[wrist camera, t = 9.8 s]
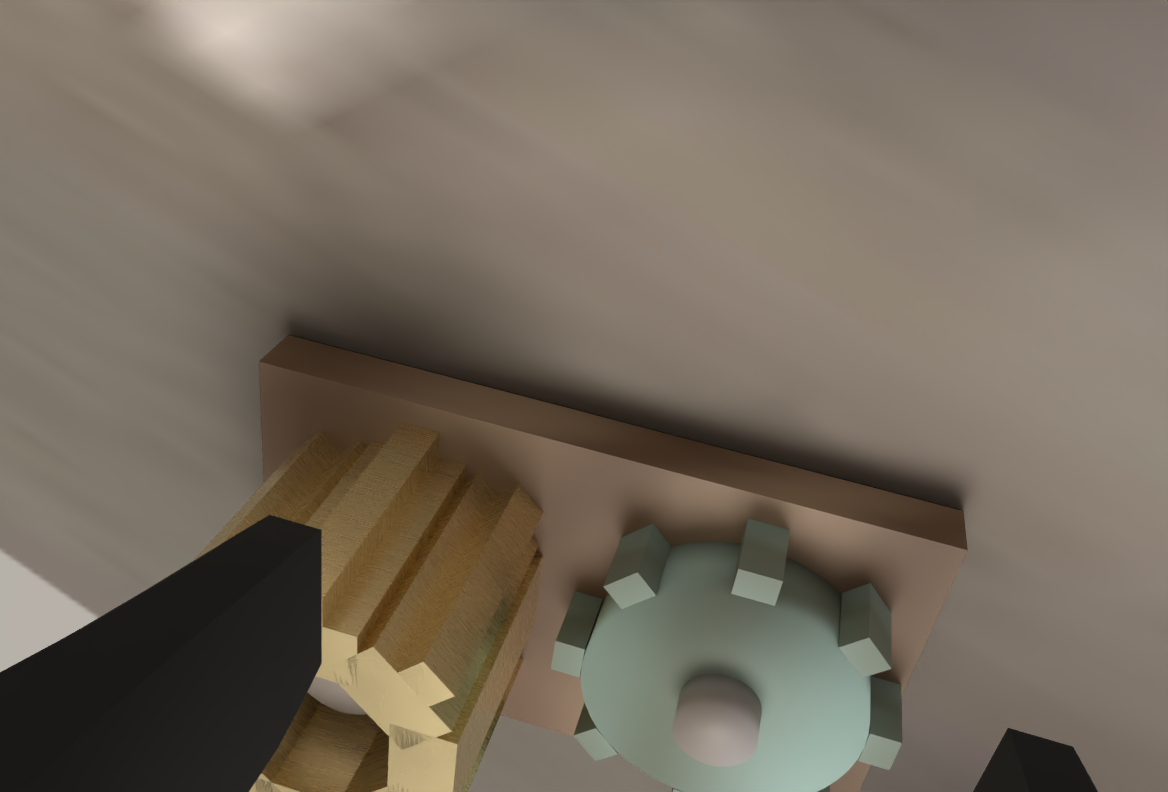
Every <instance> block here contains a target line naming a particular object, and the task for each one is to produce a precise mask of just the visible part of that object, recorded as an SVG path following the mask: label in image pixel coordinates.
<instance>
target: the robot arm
mask: <svg viewBox="0 0 1168 792" xmlns="http://www.w3.org/2000/svg"><path fill="white" fill-rule="evenodd" d="M321 664H322V530H321V529H317V528H314V527H310V526H307V525H303V524H300V523H297V522H293V521H290V520H286V519H283V518H279V517H276V516H272V515H268V516H267V517H265V518H263V519H262V520H260V521H258V522H256V523H255V524H253V525H251V526H250V527H248V528H246V529H245V530H243V531H241V532H240V533H238V534H236V535H235V536H233V537H231V538H230V539H228V540H227V541H225V542H223V543H222V544H220V545H218V546H217V547H215V548H214V549H212V550H210V551H209V552H207V553H206V554H204V555H202V556H201V557H199V558H197V559H196V560H194V561H193V562H191V563H189V564H188V565H186V566H185V567H183V568H181V569H180V570H178V571H176V572H175V573H173V574H171V575H170V576H168V577H167V578H165V579H163V580H162V581H160V582H158V583H157V584H155V585H154V586H152V587H150V588H149V589H147V590H145V591H144V592H142V593H140V594H139V595H137V596H135V597H133V598H132V599H130V600H128V601H127V602H125V603H123V604H122V605H120V606H118V607H116V608H115V609H113V610H111V611H110V612H108V613H106V614H105V615H103V616H101V617H100V618H98V619H96V620H94V621H93V622H91V623H89V624H88V625H86V626H84V627H83V628H81V629H79V630H77V631H76V632H74V633H72V634H70V635H69V636H67V637H65V638H63V639H61V640H60V641H58V642H56V643H54V644H52V645H50V646H48V647H47V648H45V649H43V650H41V651H39V652H37V653H35V654H34V655H32V656H30V657H28V658H26V659H24V660H22V661H21V662H19V663H17V664H15V665H13V666H11V667H9V668H8V669H6V670H4V671H2V672H0V792H249V791H250V789H251V788H252V786H253V785H254V783H255V782H256V780H257V779H258V777H259V776H260V774H261V773H262V771H263V770H264V768H265V767H266V765H267V764H268V762H269V761H270V759H271V758H272V756H273V755H274V753H275V752H276V750H277V749H278V747H279V745H280V743H281V741H282V740H283V738H284V736H285V734H286V732H287V730H288V728H289V726H290V725H291V723H292V721H293V719H294V717H295V715H296V713H297V711H298V710H299V708H300V706H301V704H302V702H303V700H304V698H305V696H306V694H307V692H308V690H309V688H310V686H311V684H312V682H313V680H314V678H315V676H316V674H317V672H318V670H319V668H320V666H321ZM973 792H1098V791H1097V789H1096V787H1095V786H1094V784H1093V782H1092V780H1091V778H1090V776H1089V775H1088V773H1087V771H1086V769H1085V767H1084V766H1083V764H1082V762H1081V760H1080V758H1079V757H1078V755H1077V753H1076V751H1075V750H1074V748H1073V747H1072V746H1069V745H1065V744H1062V743H1058V742H1055V741H1051V740H1048V739H1044V738H1041V737H1037V736H1034V735H1031V734H1027V733H1024V732H1020V731H1017V730H1013V729H1010V728H1008V729H1007V731H1006V733H1005V734H1004V736H1003V738H1002V740H1001V742H1000V744H999V745H998V747H997V749H996V751H995V753H994V755H993V756H992V758H991V760H990V762H989V764H988V766H987V767H986V769H985V771H984V773H983V775H982V777H981V778H980V780H979V782H978V784H977V786H976V788H975V789H974V791H973Z"/></svg>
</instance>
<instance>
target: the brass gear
mask: <svg viewBox="0 0 1168 792" xmlns="http://www.w3.org/2000/svg"><path fill="white" fill-rule="evenodd" d="M439 436H440V432H437V431H433V430H429V429H425V428H421V427H417V426H414V425H410V424H406V423H401V424H400V426H399V427H398V428H397V429H396V431H395V432H394V433H393V435H392V436H391V437H390V438H389V440H388V441H387V442H386V443H384V442H380V441H376V440H373V441H372V442H371V443H370V444H369V446H368V447H367V448H366V446H365V445H364V444H363V443H362V442H361V441H360V442H358V443H356V444H355V445H353V446H351V447H350V448H348V449H346V450H345V451H343V452H342V453H341V452H340V450H339V449H338V448H337V447H336V446H335V445H334V444H333V442H332V441H331V440H330V439H329V438H328V437H327V436H326V435H325V433H324V432H323V431H321V432H319V433H318V434H316V435H315V436H313V437H312V438H310V439H308V440H307V441H305V442H304V443H302V444H300V445H299V446H297V447H296V449H295V450H294V451H293V452H292V453H291V454H290V455H289V456H288V457H287V458H286V460H285V461H284V462H283V463H282V464H281V465H280V466H279V467H278V468H277V469H276V471H275V472H274V473H273V474H272V475H271V476H270V477H269V478H268V479H267V480H266V482H265V483H264V484H263V485H262V486H261V487H260V488H259V489H258V490H257V491H256V493H255V494H254V495H253V496H252V497H251V498H250V499H249V500H248V501H247V502H246V504H245V505H244V506H243V507H242V508H241V509H240V510H239V511H238V512H237V513H236V515H235V516H234V517H233V518H232V519H231V520H230V521H229V522H228V523H227V525H226V526H225V527H224V528H223V529H222V530H221V531H220V532H219V533H218V534H217V536H216V537H215V538H214V539H213V540H212V541H211V542H210V543H209V544H208V545H207V547H206V548H205V549H204V550H203V551H202V552H201V553H200V554H199V555H198V556H197V558H199V557H201V556H202V555H204V554H206V553H207V552H209V551H210V550H212V549H214V548H215V547H217V546H218V545H220V544H222V543H223V542H225V541H227V540H228V539H230V538H231V537H233V536H235V535H236V534H238V533H240V532H241V531H243V530H245V529H246V528H248V527H250V526H251V525H253V524H255V523H256V522H258V521H260V520H262V519H263V518H265V517H267V516H268V515H272V516H276V517H279V518H283V519H286V520H290V521H293V522H297V523H300V524H303V525H307V526H310V527H314V528H317V529H321V530H322V664H321V666H320V668H319V670H318V672H317V674H316V677H319V678H322V679H326V680H329V681H332V682H335V683H338V684H339V685H340V686H341V687H342V688H343V689H344V690H345V691H346V692H347V693H348V694H349V695H350V696H351V697H352V699H353V700H354V701H355V702H356V703H357V704H358V705H359V706H360V707H361V708H362V709H363V710H364V711H365V712H366V713H367V714H363V715H356V714H348V713H344V712H340V711H337V710H334V709H332V708H330V707H328V706H326V705H324V704H322V703H321V702H319V701H318V700H316V699H315V698H314V697H312V696H311V695H310V694H309V693H308V692H307V694H306V696H305V698H304V700H303V702H302V704H301V706H300V708H299V710H298V711H297V713H296V715H295V717H294V719H293V721H292V723H291V725H290V726H289V728H288V730H287V732H286V734H285V736H284V738H283V740H282V741H281V743H280V745H279V747H278V749H277V750H276V752H275V753H274V755H273V756H272V758H271V759H270V761H269V762H268V764H267V765H266V767H265V768H264V770H263V771H262V773H261V774H260V776H259V777H258V779H257V780H256V782H255V783H254V785H253V786H252V788H251V789H250V791H249V792H468V790H469V788H470V785H471V783H472V781H473V778H474V776H475V773H476V771H477V769H478V766H479V764H480V762H481V759H482V757H483V754H484V752H485V750H486V747H487V745H488V743H489V740H490V738H491V735H492V733H493V731H494V728H495V726H496V724H497V721H498V719H499V717H500V714H501V712H502V709H503V707H504V705H505V702H506V700H507V698H508V695H509V693H510V690H511V688H512V686H513V683H514V681H515V679H516V676H517V674H518V671H519V669H520V667H521V664H522V662H523V659H522V658H521V657H520V655H521V653H522V650H523V648H524V646H525V643H526V641H527V639H528V636H529V634H530V632H531V629H532V627H533V623H534V616H535V609H536V602H537V595H538V588H539V581H540V573H541V566H542V559H543V556H542V555H538V554H535V552H536V550H537V548H538V546H539V544H538V542H537V541H536V540H535V539H534V538H533V536H532V535H533V533H534V531H535V529H536V527H537V525H538V523H539V521H540V518H541V516H542V514H543V511H542V510H541V509H540V507H539V506H538V505H537V504H536V502H535V501H534V500H533V499H532V498H531V496H530V495H529V494H528V493H527V492H526V490H525V489H524V488H523V487H522V485H521V484H520V483H518V484H516V485H514V486H512V487H510V488H508V489H506V490H504V491H503V492H501V493H499V494H497V493H496V492H495V491H494V490H493V488H492V487H491V486H490V485H489V484H488V482H487V481H486V480H485V479H484V478H483V476H482V475H481V474H480V473H479V472H478V473H476V474H475V475H473V476H471V477H469V478H467V479H465V476H466V464H464V463H460V462H456V461H452V460H449V459H445V458H441V457H438V452H439ZM197 558H196V559H197ZM196 559H195V560H196Z"/></svg>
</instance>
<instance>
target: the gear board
mask: <svg viewBox="0 0 1168 792" xmlns="http://www.w3.org/2000/svg"><path fill="white" fill-rule="evenodd" d="M259 374H260V400H261V426H262V452H263V478H264V483H265V482H266V480H267V479H268V478H269V477H270V476H271V475H272V474H273V473H274V472H275V471H276V469H277V468H278V467H279V466H280V465H281V464H282V463H283V462H284V461H285V460H286V458H287V457H288V456H289V455H290V454H291V453H292V452H293V451H294V450H295V449H296V447H297V446H299V445H300V444H302V443H304V442H305V441H307V440H308V439H310V438H312V437H313V436H315V435H316V434H318V433H319V432H321V431H323V432H324V433H325V435H326V436H327V437H328V438H329V439H330V440H331V441H332V442H333V444H334V445H335V446H336V447H337V448H338V449H339V450H340V452H341V453H342V452H343V451H345V450H346V449H348V448H350V447H351V446H353V445H355V444H356V443H358V442H360V441H361V442H362V443H363V444H364V445H365V446H366V448H367V447H368V446H369V444H370V443H371V442H372V441H373V440H376V441H380V442H384V443H386V442H387V441H388V440H389V438H390V437H391V436H392V435H393V433H394V432H395V431H396V429H397V428H398V427H399V426H400V424H401V423H406V424H410V425H414V426H417V427H421V428H425V429H429V430H433V431H437V432H440V436H439V452H438V457H441V458H445V459H449V460H452V461H456V462H460V463H464V464H466V476H465V479H467V478H469V477H471V476H473V475H475V474H476V473H478V472H479V473H480V474H481V475H482V476H483V478H484V479H485V480H486V481H487V482H488V484H489V485H490V486H491V487H492V488H493V490H494V491H495V492H496V493H497V494H499V493H501V492H503V491H504V490H506V489H508V488H510V487H512V486H514V485H516V484H518V483H520V484H521V485H522V487H523V488H524V489H525V490H526V492H527V493H528V494H529V495H530V496H531V498H532V499H533V500H534V501H535V502H536V504H537V505H538V506H539V507H540V509H541V510H542V511H543V514H542V516H541V518H540V521H539V523H538V525H537V527H536V529H535V531H534V533H533V535H532V536H533V538H534V539H535V540H536V541H537V542H538V544H539V546H538V548H537V550H536V552H535V554H538V555H542V556H543V559H542V566H541V573H540V581H539V588H538V595H537V602H536V609H535V616H534V623H533V627H532V629H531V632H530V634H529V636H528V639H527V641H526V643H525V646H524V648H523V650H522V653H521V655H520V657H521V658H522V659H523V662H522V664H521V667H520V669H519V671H518V674H517V676H516V679H515V681H514V683H513V686H512V688H511V690H510V693H509V695H508V698H507V700H506V702H505V705H504V707H503V709H502V712H501V714H500V715H503V716H507V717H510V718H513V719H516V720H520V721H523V722H526V723H529V724H533V725H536V726H539V727H542V728H546V729H549V730H552V731H555V732H559V733H562V734H565V735H568V736H572V737H575V738H576V739H577V740H578V742H579V743H580V744H581V745H582V746H583V747H584V749H585V750H586V751H587V752H588V753H589V754H590V755H591V757H592V758H593V759H594V760H595V761H597V760H601V759H604V758H607V757H610V756H613V755H617V754H618V753H619V754H620V755H621V756H622V757H624V758H625V759H626V760H627V761H628V762H629V763H631V764H632V765H633V766H635V767H636V768H638V769H639V770H641V771H642V772H644V773H645V774H647V775H649V776H650V777H652V778H654V779H656V780H658V781H659V782H661V783H664V784H666V785H668V786H670V787H672V792H859V790H860V788H861V786H862V783H863V781H864V779H865V777H866V774H867V772H868V770H869V768H870V766H871V765H873V766H876V767H880V768H883V769H887V770H890V768H891V766H892V764H893V762H894V760H895V757H896V755H897V753H898V751H899V749H900V747H901V745H902V699H901V697H902V695H903V692H904V690H905V688H906V686H907V683H908V681H909V679H910V677H911V675H912V672H913V670H914V668H915V666H916V664H917V661H918V659H919V657H920V655H921V652H922V650H923V648H924V646H925V644H926V641H927V639H928V637H929V635H930V632H931V630H932V628H933V626H934V624H935V621H936V619H937V617H938V615H939V612H940V610H941V608H942V606H943V604H944V601H945V599H946V597H947V595H948V592H949V590H950V588H951V586H952V584H953V581H954V579H955V577H956V575H957V573H958V570H959V568H960V566H961V564H962V561H963V559H964V557H965V555H966V553H967V540H966V531H965V521H964V512H963V511H961V510H957V509H953V508H949V507H945V506H942V505H938V504H934V503H930V502H926V501H922V500H919V499H915V498H911V497H907V496H903V495H899V494H896V493H892V492H888V491H884V490H880V489H876V488H873V487H869V486H865V485H861V484H857V483H853V482H850V481H846V480H842V479H838V478H834V477H831V476H827V475H823V474H819V473H815V472H811V471H808V470H804V469H800V468H796V467H792V466H788V465H785V464H781V463H777V462H773V461H769V460H765V459H762V458H758V457H754V456H750V455H746V454H742V453H739V452H735V451H731V450H727V449H723V448H719V447H716V446H712V445H708V444H704V443H700V442H696V441H693V440H689V439H685V438H681V437H677V436H673V435H670V434H666V433H662V432H658V431H654V430H650V429H647V428H643V427H639V426H635V425H631V424H627V423H624V422H620V421H616V420H612V419H608V418H604V417H601V416H597V415H593V414H589V413H585V412H581V411H578V410H574V409H570V408H566V407H562V406H558V405H555V404H551V403H547V402H543V401H539V400H535V399H532V398H528V397H524V396H520V395H516V394H512V393H509V392H505V391H501V390H497V389H493V388H489V387H486V386H482V385H478V384H474V383H470V382H466V381H463V380H459V379H455V378H451V377H447V376H443V375H440V374H436V373H432V372H428V371H424V370H420V369H417V368H413V367H409V366H405V365H401V364H397V363H394V362H390V361H386V360H382V359H378V358H374V357H371V356H367V355H363V354H359V353H355V352H352V351H348V350H344V349H340V348H336V347H332V346H329V345H325V344H321V343H317V342H313V341H309V340H306V339H302V338H298V337H294V336H290V335H288V336H287V337H286V338H285V339H284V340H283V341H281V342H280V343H279V344H278V345H277V346H276V347H275V348H274V349H272V350H271V351H270V352H269V353H268V354H267V355H266V356H265V357H264V358H262V359H261V360H260V361H259ZM308 693H309V694H310V695H311V696H312V697H314V698H315V699H316V700H318V701H319V702H321V703H322V704H324V705H326V706H328V707H330V708H332V709H334V710H337V711H340V712H344V713H348V714H356V715H363V714H367V713H366V712H365V711H364V710H363V709H362V708H361V707H360V706H359V705H358V704H357V703H356V702H355V701H354V700H353V699H352V697H351V696H350V695H349V694H348V693H347V692H346V691H345V690H344V689H343V688H342V687H341V686H340V685H339V684H338V683H335V682H332V681H329V680H326V679H322V678H319V677H316V676H315V678H314V680H313V682H312V684H311V686H310V688H309V690H308Z"/></svg>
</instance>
